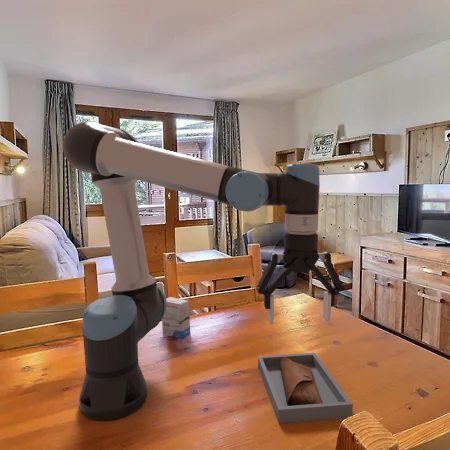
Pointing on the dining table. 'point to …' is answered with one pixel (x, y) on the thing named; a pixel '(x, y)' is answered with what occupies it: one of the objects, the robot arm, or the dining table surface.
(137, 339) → the robot arm
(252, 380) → the dining table surface
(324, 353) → the dining table surface
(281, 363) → the sunglasses case
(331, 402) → the holder
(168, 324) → the ink box
